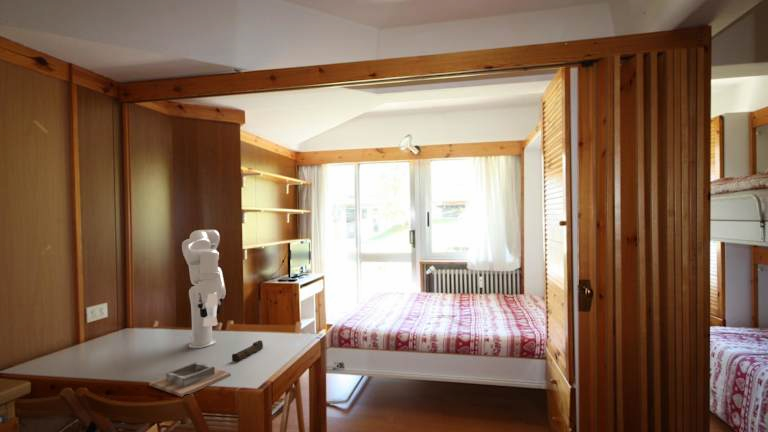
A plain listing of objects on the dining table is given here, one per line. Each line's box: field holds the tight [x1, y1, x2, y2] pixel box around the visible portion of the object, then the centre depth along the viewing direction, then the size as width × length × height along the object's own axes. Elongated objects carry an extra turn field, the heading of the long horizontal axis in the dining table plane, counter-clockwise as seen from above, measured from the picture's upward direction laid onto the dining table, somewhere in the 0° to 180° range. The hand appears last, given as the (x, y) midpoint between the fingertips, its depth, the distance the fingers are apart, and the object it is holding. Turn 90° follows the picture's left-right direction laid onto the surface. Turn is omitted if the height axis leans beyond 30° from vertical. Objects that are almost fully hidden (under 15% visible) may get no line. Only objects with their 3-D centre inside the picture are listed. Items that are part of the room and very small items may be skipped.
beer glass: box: [202, 292, 218, 327], centre depth 166 cm, size 7×7×15 cm
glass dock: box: [149, 361, 231, 398], centre depth 143 cm, size 22×20×4 cm
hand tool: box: [231, 339, 264, 363], centre depth 170 cm, size 19×4×5 cm, turn 157°
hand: (210, 315), depth 166 cm, fingers closed on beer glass, 6 cm apart
